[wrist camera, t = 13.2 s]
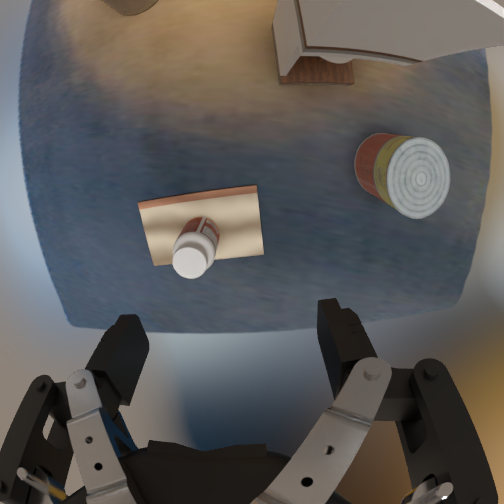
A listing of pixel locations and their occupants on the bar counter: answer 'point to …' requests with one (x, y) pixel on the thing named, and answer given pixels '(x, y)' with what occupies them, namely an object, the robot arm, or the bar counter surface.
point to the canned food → (404, 172)
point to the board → (213, 207)
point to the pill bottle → (195, 247)
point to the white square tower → (376, 34)
